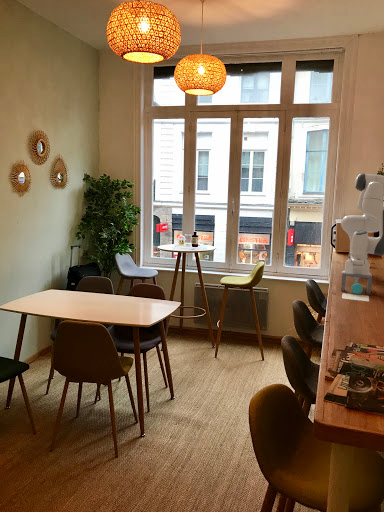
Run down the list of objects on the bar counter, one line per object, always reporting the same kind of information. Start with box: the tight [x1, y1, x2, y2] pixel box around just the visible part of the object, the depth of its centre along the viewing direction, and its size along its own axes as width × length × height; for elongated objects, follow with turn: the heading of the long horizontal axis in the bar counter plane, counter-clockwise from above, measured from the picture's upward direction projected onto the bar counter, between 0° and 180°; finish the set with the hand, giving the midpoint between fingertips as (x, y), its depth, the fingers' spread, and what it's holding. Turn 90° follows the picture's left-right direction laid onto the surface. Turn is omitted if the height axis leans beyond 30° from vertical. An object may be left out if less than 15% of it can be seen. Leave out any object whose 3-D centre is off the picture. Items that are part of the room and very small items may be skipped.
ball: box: [350, 282, 364, 295], centre depth 243 cm, size 6×6×6 cm
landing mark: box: [341, 292, 370, 303], centre depth 236 cm, size 13×13×1 cm
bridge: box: [340, 273, 373, 295], centre depth 249 cm, size 3×15×10 cm, turn 71°
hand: (355, 283), depth 261 cm, fingers closed
